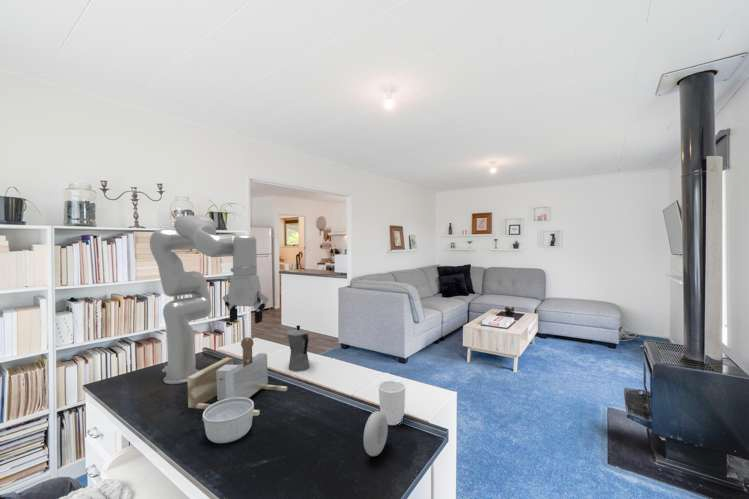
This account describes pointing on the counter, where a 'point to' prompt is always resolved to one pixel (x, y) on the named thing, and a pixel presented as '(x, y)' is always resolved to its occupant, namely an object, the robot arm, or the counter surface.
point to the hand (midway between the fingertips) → (245, 321)
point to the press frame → (212, 386)
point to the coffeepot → (298, 349)
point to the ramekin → (228, 419)
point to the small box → (222, 381)
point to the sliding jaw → (247, 373)
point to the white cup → (392, 401)
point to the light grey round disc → (375, 433)
